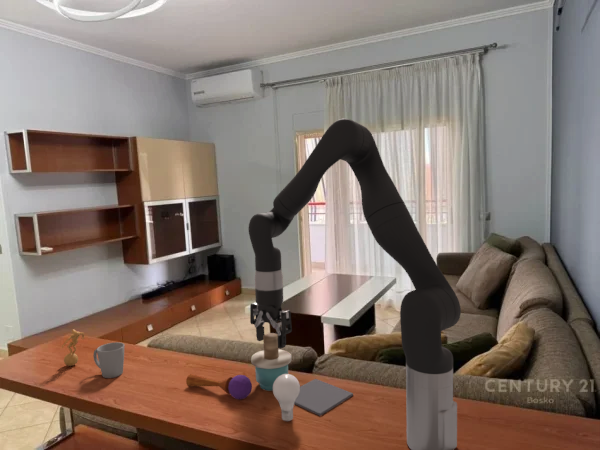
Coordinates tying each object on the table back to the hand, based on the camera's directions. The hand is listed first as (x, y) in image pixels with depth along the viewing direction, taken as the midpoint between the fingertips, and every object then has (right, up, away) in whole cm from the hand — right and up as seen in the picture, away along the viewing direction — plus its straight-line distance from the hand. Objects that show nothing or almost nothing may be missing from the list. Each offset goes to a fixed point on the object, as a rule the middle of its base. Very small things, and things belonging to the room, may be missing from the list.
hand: (270, 343), depth 116 cm
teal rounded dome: (0, -12, +1) cm, 12 cm away
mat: (+13, -12, -7) cm, 19 cm away
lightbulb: (+5, -13, -17) cm, 22 cm away
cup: (-49, -12, +11) cm, 52 cm away
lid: (0, -5, 0) cm, 5 cm away
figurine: (-64, -12, +18) cm, 67 cm away
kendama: (-14, -13, -2) cm, 19 cm away
